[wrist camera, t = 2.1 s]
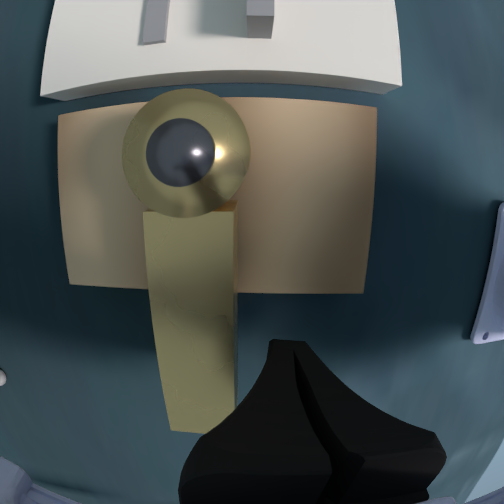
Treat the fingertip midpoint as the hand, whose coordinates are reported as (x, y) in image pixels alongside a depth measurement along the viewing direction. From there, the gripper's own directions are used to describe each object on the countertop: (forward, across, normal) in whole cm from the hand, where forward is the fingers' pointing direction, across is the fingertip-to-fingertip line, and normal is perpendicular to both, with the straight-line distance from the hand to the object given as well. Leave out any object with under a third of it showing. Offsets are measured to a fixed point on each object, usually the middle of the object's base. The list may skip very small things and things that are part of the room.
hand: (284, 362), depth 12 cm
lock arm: (+1, +3, -3) cm, 5 cm away
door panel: (+3, +4, -14) cm, 15 cm away
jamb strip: (+3, +4, -6) cm, 7 cm away
